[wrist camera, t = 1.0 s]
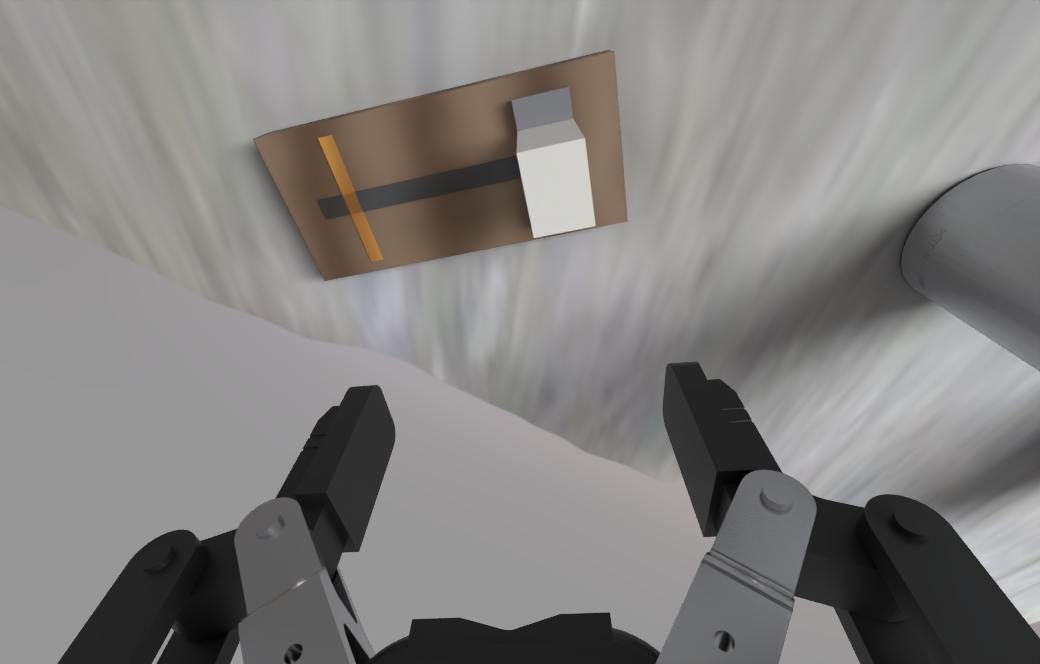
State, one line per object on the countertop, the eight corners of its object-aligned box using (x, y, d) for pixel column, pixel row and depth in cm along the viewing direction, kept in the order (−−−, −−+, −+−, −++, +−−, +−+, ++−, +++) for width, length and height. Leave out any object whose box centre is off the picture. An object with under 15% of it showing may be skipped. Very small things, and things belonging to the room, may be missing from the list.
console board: (608, 50, 24) (614, 51, 22) (621, 210, 29) (627, 221, 27) (270, 132, 26) (252, 139, 25) (335, 267, 31) (324, 281, 30)
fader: (568, 85, 23) (580, 99, 18) (585, 215, 27) (598, 254, 22) (511, 99, 23) (508, 115, 19) (536, 225, 27) (539, 265, 22)
